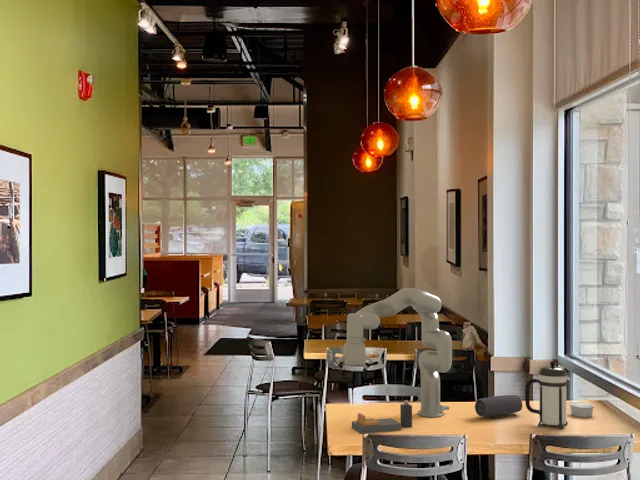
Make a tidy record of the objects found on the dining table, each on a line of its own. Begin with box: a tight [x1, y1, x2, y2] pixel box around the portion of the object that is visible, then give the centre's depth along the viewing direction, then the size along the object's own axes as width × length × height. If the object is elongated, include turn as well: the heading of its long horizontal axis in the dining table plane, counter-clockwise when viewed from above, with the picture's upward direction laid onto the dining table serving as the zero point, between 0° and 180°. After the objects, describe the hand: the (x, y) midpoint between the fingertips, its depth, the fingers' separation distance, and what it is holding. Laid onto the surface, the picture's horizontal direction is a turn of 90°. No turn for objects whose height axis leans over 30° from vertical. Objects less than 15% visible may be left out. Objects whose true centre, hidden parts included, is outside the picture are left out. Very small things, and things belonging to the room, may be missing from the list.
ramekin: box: [569, 401, 595, 418], centre depth 353 cm, size 11×11×5 cm
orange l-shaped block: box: [356, 412, 380, 426], centre depth 326 cm, size 8×8×4 cm
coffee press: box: [524, 361, 571, 431], centre depth 333 cm, size 17×16×30 cm
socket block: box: [351, 417, 402, 435], centre depth 328 cm, size 20×11×3 cm, turn 108°
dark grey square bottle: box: [399, 399, 413, 429], centre depth 332 cm, size 4×4×12 cm
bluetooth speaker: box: [474, 394, 523, 418], centre depth 351 cm, size 23×9×10 cm, turn 115°
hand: (354, 378), depth 327 cm, fingers open, 9 cm apart
